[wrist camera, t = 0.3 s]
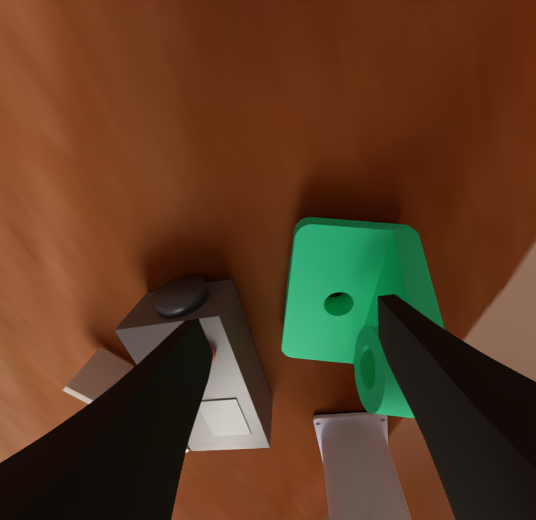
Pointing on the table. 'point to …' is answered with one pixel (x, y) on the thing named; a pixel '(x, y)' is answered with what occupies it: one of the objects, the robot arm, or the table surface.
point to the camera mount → (354, 299)
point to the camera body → (223, 363)
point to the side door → (98, 377)
